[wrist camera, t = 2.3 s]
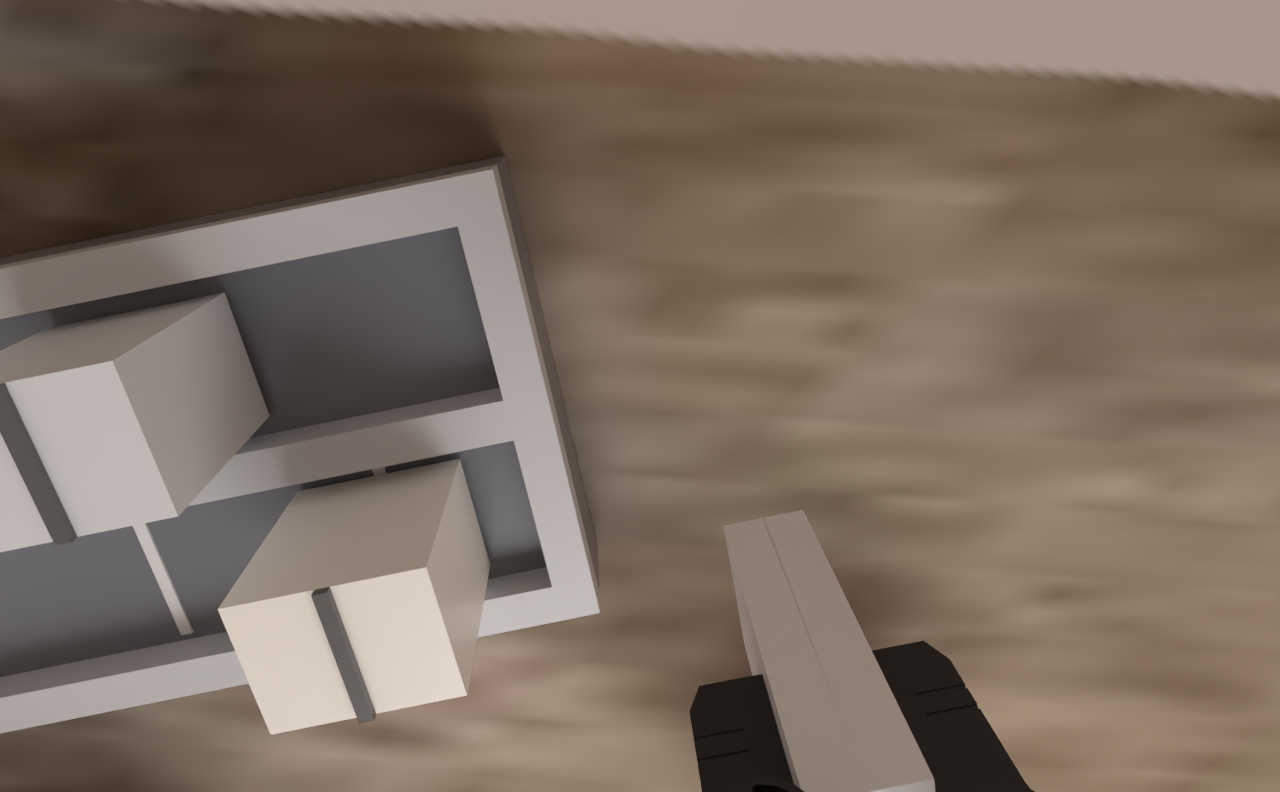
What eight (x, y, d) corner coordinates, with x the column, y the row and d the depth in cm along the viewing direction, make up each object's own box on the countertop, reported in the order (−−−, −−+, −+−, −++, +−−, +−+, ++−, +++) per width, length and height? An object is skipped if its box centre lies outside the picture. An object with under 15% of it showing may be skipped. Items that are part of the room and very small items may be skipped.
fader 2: (335, 596, 22) (267, 741, 17) (297, 491, 21) (213, 615, 16) (490, 564, 22) (466, 702, 17) (459, 458, 21) (424, 572, 16)
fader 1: (101, 450, 20) (-47, 565, 16) (47, 327, 19) (-130, 412, 15) (269, 415, 20) (173, 522, 16) (224, 292, 19) (106, 364, 15)
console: (-325, 730, 25) (-455, 824, 22) (-581, 375, 21) (-783, 427, 18) (597, 545, 25) (600, 612, 22) (504, 155, 21) (492, 169, 18)
